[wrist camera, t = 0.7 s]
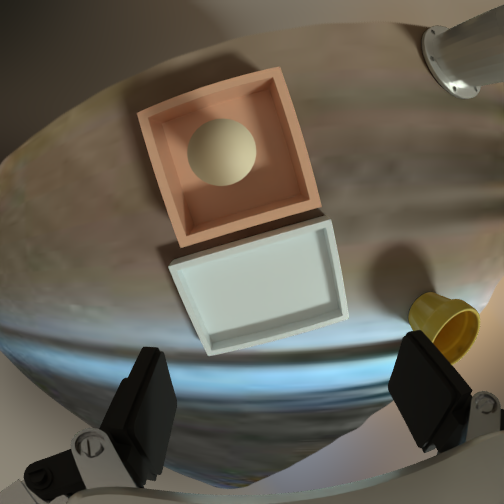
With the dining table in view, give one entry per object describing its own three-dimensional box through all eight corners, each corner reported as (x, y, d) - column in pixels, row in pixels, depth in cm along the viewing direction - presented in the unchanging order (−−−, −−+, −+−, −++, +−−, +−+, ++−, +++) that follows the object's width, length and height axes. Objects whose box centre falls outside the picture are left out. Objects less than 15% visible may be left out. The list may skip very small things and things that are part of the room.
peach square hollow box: (274, 82, 29) (279, 66, 23) (309, 198, 33) (321, 206, 28) (154, 120, 30) (136, 112, 24) (191, 233, 34) (180, 248, 29)
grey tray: (325, 215, 34) (330, 219, 32) (343, 309, 38) (348, 318, 36) (173, 259, 35) (168, 266, 33) (210, 345, 40) (208, 356, 37)
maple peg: (245, 129, 30) (244, 110, 18) (258, 170, 31) (264, 174, 20) (203, 142, 30) (179, 131, 19) (216, 183, 32) (198, 194, 20)
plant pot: (428, 268, 37) (466, 295, 27) (455, 298, 39) (488, 326, 29) (386, 320, 39) (415, 357, 30) (418, 344, 41) (445, 378, 32)
